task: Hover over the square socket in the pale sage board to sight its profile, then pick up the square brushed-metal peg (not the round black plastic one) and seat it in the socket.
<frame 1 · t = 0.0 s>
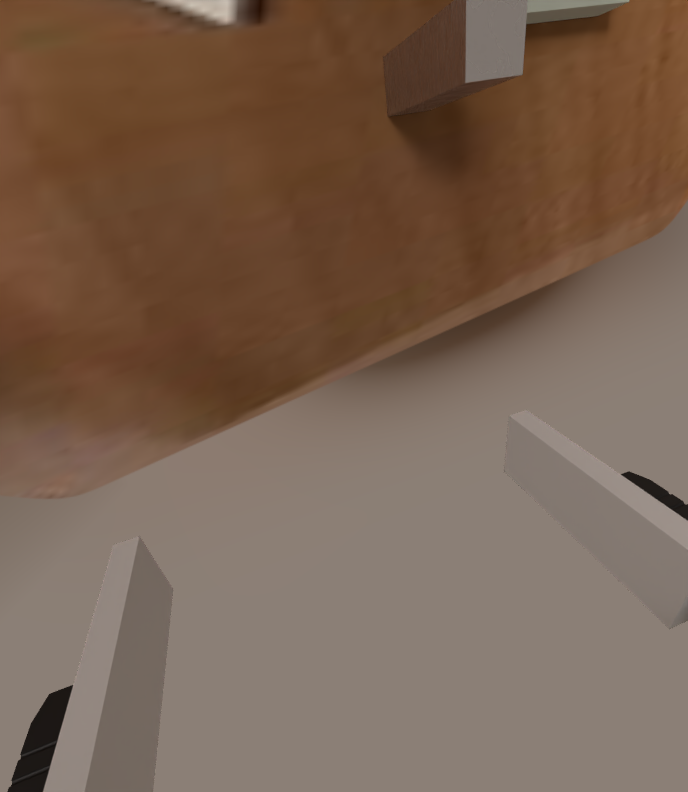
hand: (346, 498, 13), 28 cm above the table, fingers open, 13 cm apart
square peg: (407, 84, 32), on the table
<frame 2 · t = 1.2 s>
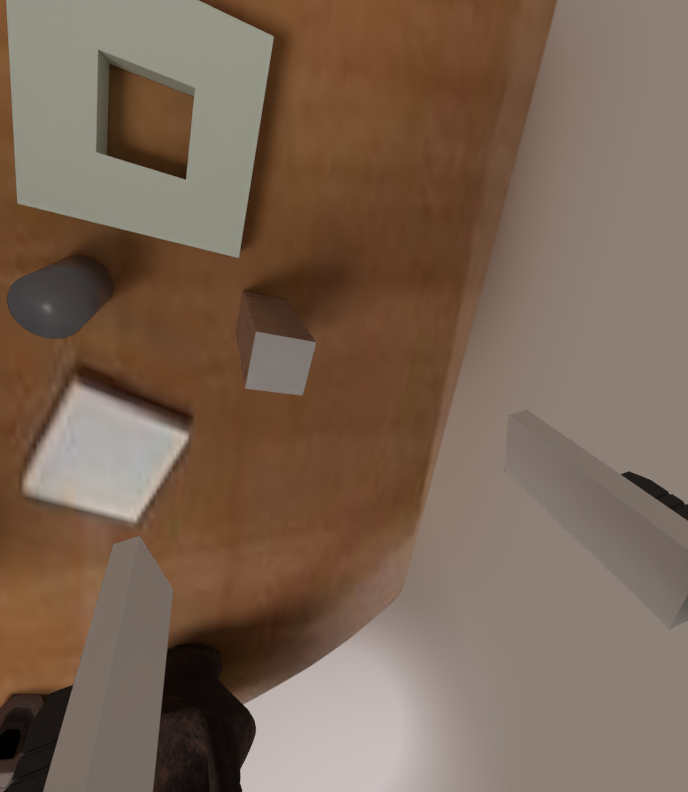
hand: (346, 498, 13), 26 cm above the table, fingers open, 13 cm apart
socket board: (151, 126, 27), on the table
jug: (187, 661, 55), on the table
round peg: (84, 282, 30), on the table
square peg: (261, 316, 35), on the table
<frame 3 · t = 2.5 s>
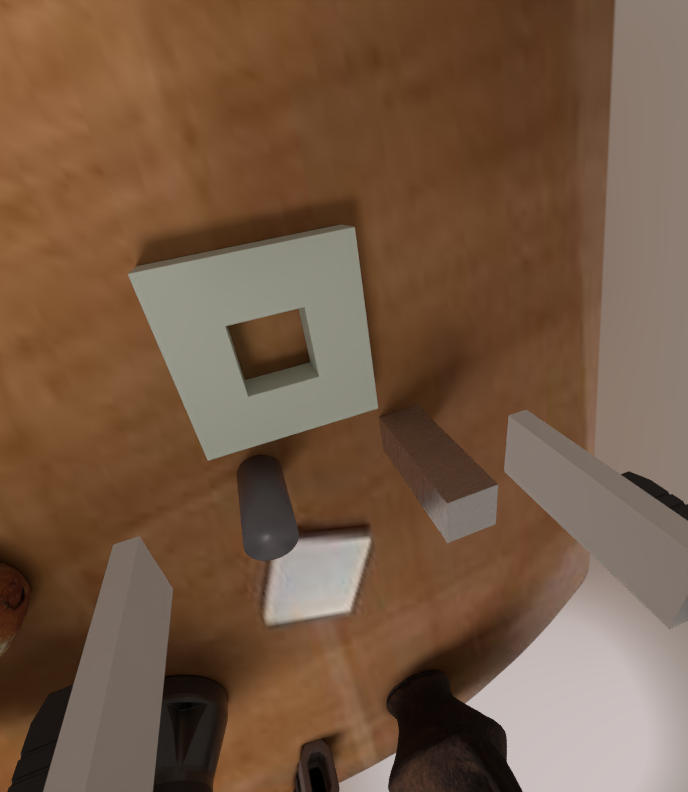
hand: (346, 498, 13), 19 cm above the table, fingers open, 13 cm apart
socket board: (269, 339, 29), on the table
jug: (419, 684, 63), on the table
round peg: (259, 473, 34), on the table
tube: (305, 782, 67), on the table
square peg: (400, 428, 37), on the table
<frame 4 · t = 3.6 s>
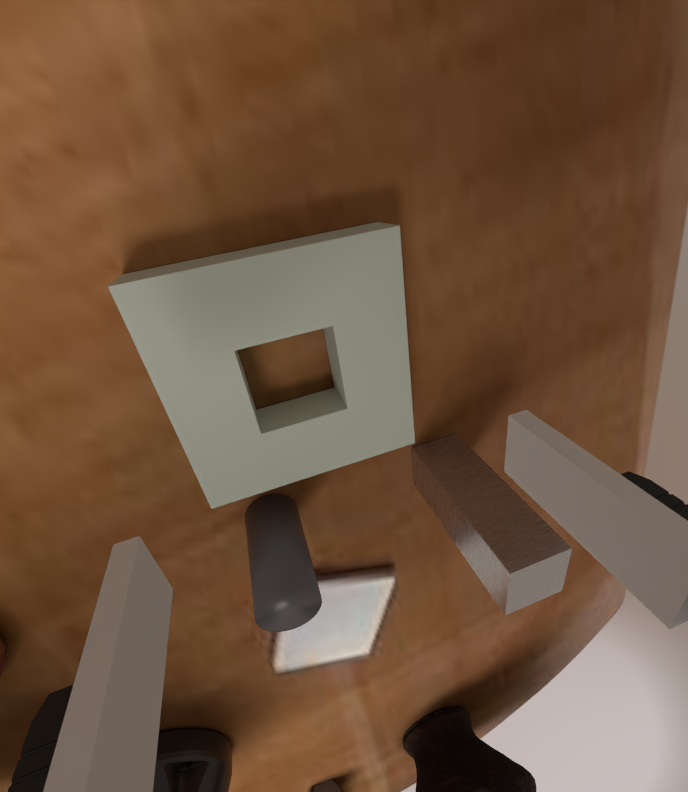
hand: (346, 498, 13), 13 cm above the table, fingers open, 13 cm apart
socket board: (287, 362, 24), on the table
jug: (437, 720, 58), on the table
round peg: (271, 514, 29), on the table
square peg: (434, 459, 32), on the table
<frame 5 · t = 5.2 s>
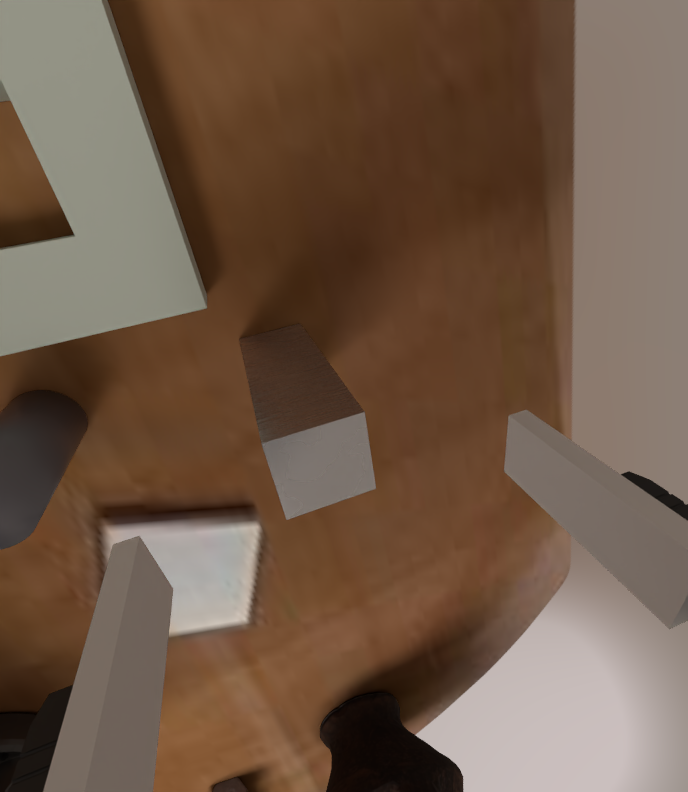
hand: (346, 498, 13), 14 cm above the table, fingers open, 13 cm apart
socket board: (0, 179, 17), on the table
jug: (362, 708, 51), on the table
round peg: (47, 420, 23), on the table
square peg: (277, 359, 25), on the table
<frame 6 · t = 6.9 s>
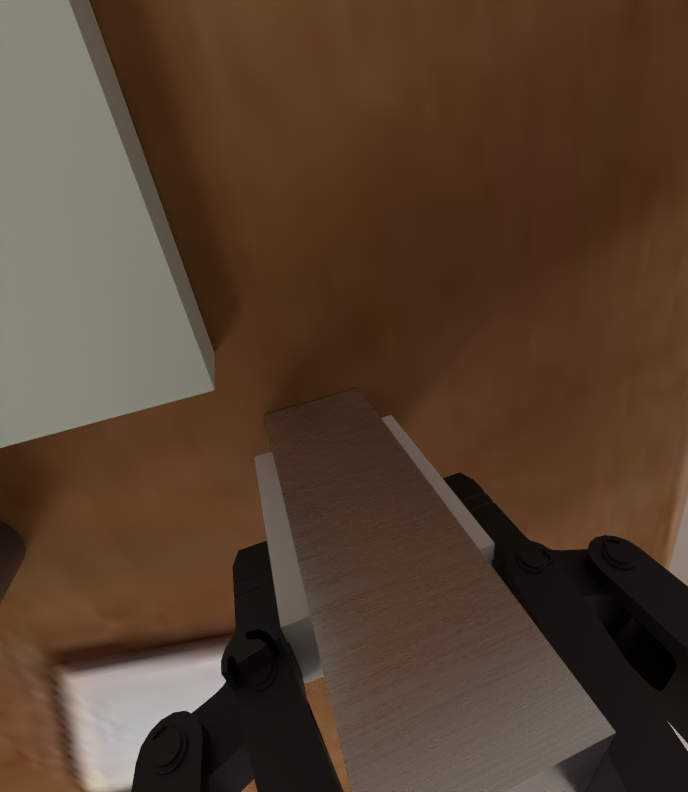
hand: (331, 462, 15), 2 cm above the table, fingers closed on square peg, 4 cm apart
square peg: (321, 439, 16), on the table, touching gripper
when the fingers open (4 cm above the table, at t = 13.2 s): square peg drops 2 cm, resting in socket board.
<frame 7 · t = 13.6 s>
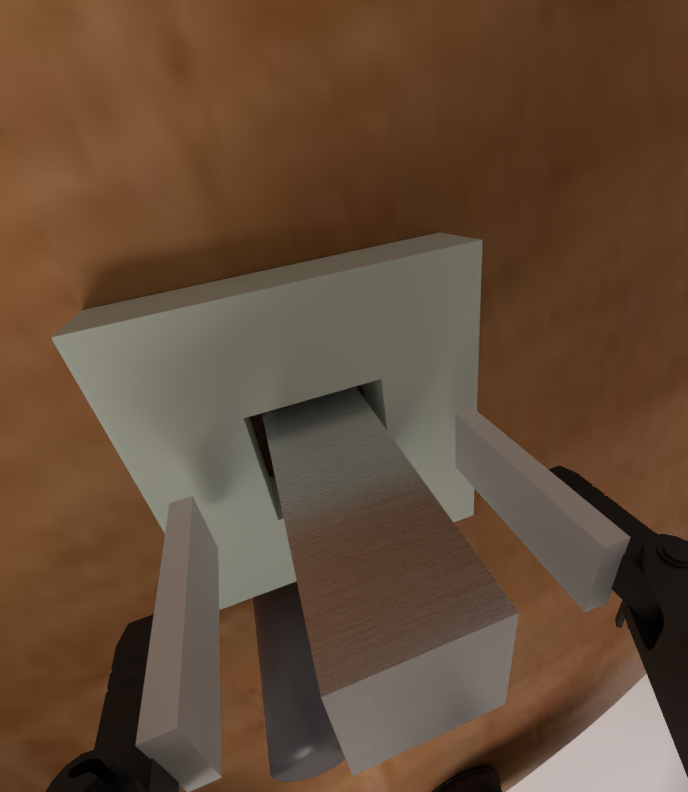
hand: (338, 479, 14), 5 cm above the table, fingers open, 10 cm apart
socket board: (311, 417, 18), on the table
jug: (463, 780, 52), on the table
round peg: (286, 594, 24), on the table
square peg: (309, 417, 18), resting in socket board
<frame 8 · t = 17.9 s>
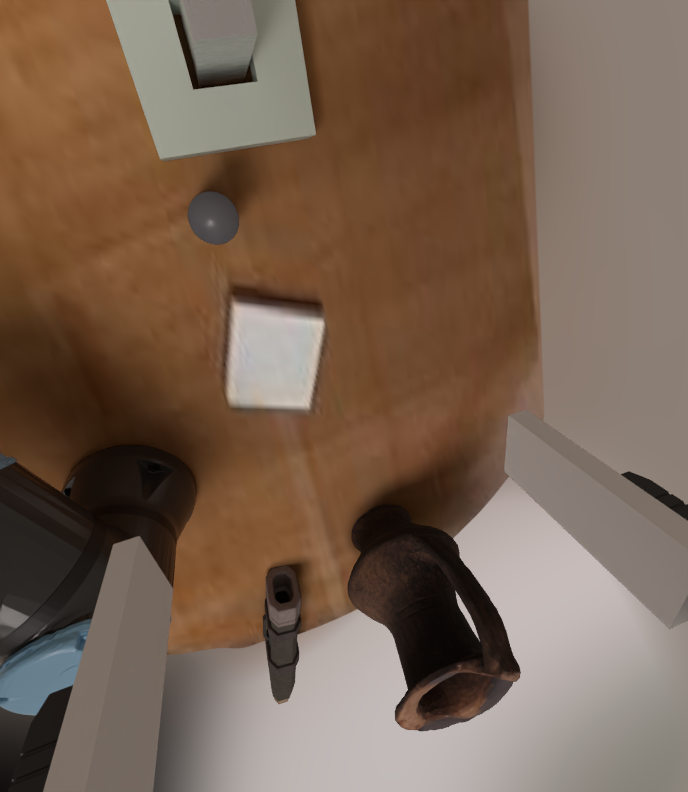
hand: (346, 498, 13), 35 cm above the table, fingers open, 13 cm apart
socket board: (215, 54, 33), on the table
jug: (383, 522, 67), on the table
round peg: (213, 214, 38), on the table
tube: (278, 619, 71), on the table
square peg: (214, 54, 33), resting in socket board
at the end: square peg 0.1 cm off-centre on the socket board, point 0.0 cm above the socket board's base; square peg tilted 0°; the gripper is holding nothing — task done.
